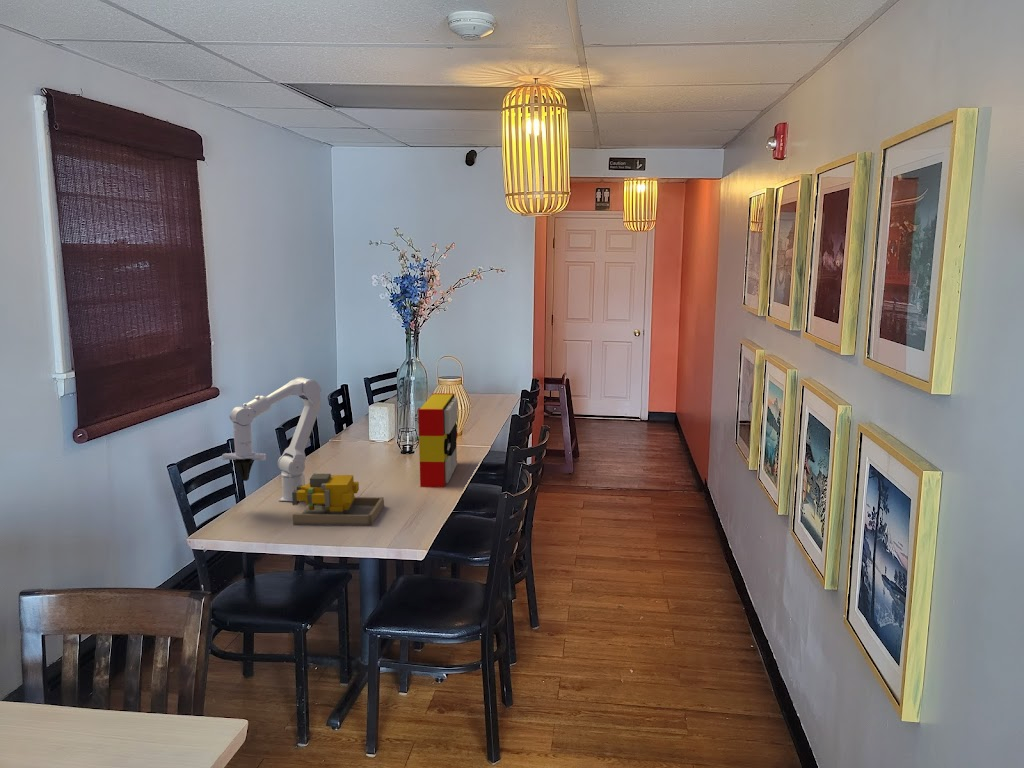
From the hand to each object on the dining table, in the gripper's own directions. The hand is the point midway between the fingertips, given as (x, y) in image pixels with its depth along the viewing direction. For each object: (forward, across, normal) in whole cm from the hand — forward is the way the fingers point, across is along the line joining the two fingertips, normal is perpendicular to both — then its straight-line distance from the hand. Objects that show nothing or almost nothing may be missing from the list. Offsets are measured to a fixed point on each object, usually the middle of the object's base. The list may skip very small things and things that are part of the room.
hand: (245, 480), depth 267 cm
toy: (+3, +19, -5) cm, 20 cm away
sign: (+11, +61, +44) cm, 76 cm away
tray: (+10, +34, -5) cm, 36 cm away
